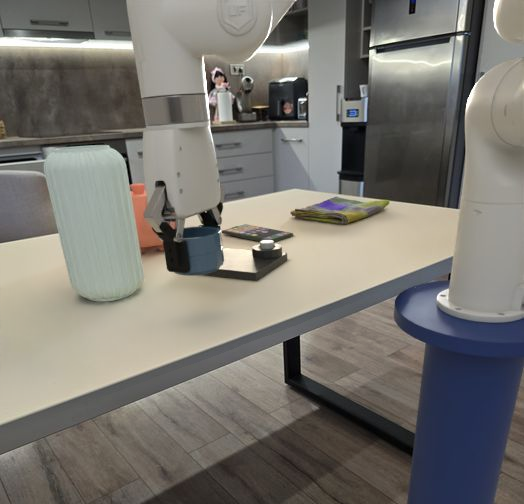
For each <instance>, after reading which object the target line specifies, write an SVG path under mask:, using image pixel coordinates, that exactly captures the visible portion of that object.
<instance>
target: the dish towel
mask: <svg viewBox="0 0 524 504" xmlns="http://www.w3.org/2000/svg"><path fill="white" fill-rule="evenodd" d="M389 204H390V200H389V199H379V200H372V201H360V200H356V199H347V198H344V197H339V196H334V197H331V198H328V199H326V200H324V201H322V202H319V203H313V204H312V205H309V206H306V207H301V208H295V209H293V210H291V211H290V215H291V216H292V217H294V218H295V219H301V220H310V221H318V222H323V223H331V224H337V225H347V224H350V223H352V222H356V221H359V220H361V219H365V218H368V217H370V216H373V215H375V214H376V213H379V212H381V211H382V210H384V209H385V208H386V207H388V206H389Z"/></svg>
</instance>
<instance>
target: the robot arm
mask: <svg viewBox="0 0 524 504" xmlns="http://www.w3.org/2000/svg"><path fill="white" fill-rule="evenodd" d="M295 2H297V0H126V2H125V3H126V4H125V5H126V12H127V18H128V19H127V20H128V24H129V31H130V37H131V42H132V43H131V44H132V48H133V55H134V61H135V69H136V74H137V80H138V86H139V87H138V88H139V93H140V98H141V105H142V111H143V117H144V124H145V130H143V131H142V164H143V165H142V167H143V178H144V184H145V190H146V195H147V202H148V205H147V207H146V209H145V211H144V214H143V216H144V218H145V220H146V221H147V222H148V223H149V225H150V226H151V227H152V230H153V231H154V232H155V233H156V234H157V235H158V238H159V240H160V241H163V247H164V251H163V252H164V259H165V265H166V270H167V271H168V272H170V273H175V272H178V273H188V272H189V271H190V264H189V257H188V250H187V243H186V241H185V240H182V237H183V231H184V228H185V223H186V219H188V218H191V217H194V216H197V218H198V220H199V221H200V225H198V226H211V227H217V228H219V229H220V230H221V231H222V228H221V225H222V223H223V218H222V213H223V210H224V205H223V204H224V200H225V197H226V189H225V187H223V186H222V185H221V182H220V181H221V180H220V173H219V166H218V159H217V153H216V149H215V148H216V147H215V142H214V139H213V138H214V137H213V135H212V131H211V117H210V108H209V97H208V89H207V79H206V71H205V61H204V60H205V59H204V57H205V56H214V57H215V58H216V59H217V60H218V61H221V62H222V63H225V64H228V65H240V64H243V63H245V62H248V61H249V60H251V59H252V58H254V56H256V54H257V52H258V51H259V50H260V48H261V47H262V46H263V45H264V43H265V42H266V41H267V39H268V38H269V36H271V33H273V31H274V30H275V29H276V27H277V26H278V24H279V23H280V21H281V20H282V19H283V18H284V16H285V15H286V14H287V12H288V11H289V10H290V9H291V7H292V6H293V5H294V4H295ZM493 4H494V5H493V23H494V28H495V30H496V33H497V34H498V35H499V37H500V38H502V40H504V41H505V42H508V43H510V44H514V45H524V0H494V3H493ZM464 140H465V141H464V142H465V155H464V156H465V159H464V172H463V180H462V181H463V182H462V190H461V197H460V203H459V211H458V218H457V219H458V220H457V224H456V225H457V226H456V232H455V233H456V234H455V241H454V248H453V256H452V262H451V263H452V264H451V272H450V278H449V280H450V286H449V289H446V290H444V291H442V292H440V293H439V294H438V295H437V301H436V304H437V306H438V308H439V309H440V310H442V311H443V312H445V313H446V314H449V315H451V316H454V317H457V318H460V319H464V320H469V321H475V322H484V323H505V322H512V321H516V320H520V319H522V318H524V56H522V57H516V58H513V59H512V58H511V59H509V60H505V61H503V62H501V63H499V64H497V65H495V66H493V67H492V68H490V69H489V70H488V71H486V72H485V73H484V74H483V75H482V76H481V77H480V78H479V79H478V80H477V82H476V83H475V85H474V86H473V88H472V89H471V91H470V94H469V97H468V98H467V102H466V107H465V114H464ZM174 213H175V214H174ZM170 222H175V227H174V229H173V228H172V227H171V226H170Z"/></svg>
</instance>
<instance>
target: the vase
mask: <svg viewBox="0 0 524 504" xmlns="http://www.w3.org/2000/svg"><path fill="white" fill-rule="evenodd" d="M43 172H44V173H43V174H44V178H45V182H46V186H47V190H48V194H49V198H50V199H49V200H50V203H51V207H52V212H53V216H54V220H55V224H56V228H57V232H58V237H59V241H60V245H61V249H62V254H63V259H64V262H65V267H66V271H67V275H68V280H69V283H70V286H71V288H72V289H73V291H75V293H76V294H77V295H79V296H81V297H83V298H85V299H87V300H89V301H91V302H100V303H102V302H112V301H119V300H122V299H125V298H127V297H130V296H131V295H133V294H134V293H135V292H136V290H138V289H139V288H140V287H141V285H142V283H143V281H144V278H145V273H144V265H143V260H142V254H141V253H140V247H139V241H138V235H137V229H136V223H135V216H134V210H133V204H132V198H131V192H130V191H131V187H130V182H129V181H130V180H129V174H128V168H127V163H126V160H125V158H124V157H123V155H122V154H121V153H120V152H119V151H118V150H116V149H115V148H112V147H111V146H110V144H109V145H108V144H95V145H78V146H66V147H58V148H57V147H56V148H54V149H53V151H52V152H50V153H49V154H48V155H47V156H46V158H45V160H44V162H43Z"/></svg>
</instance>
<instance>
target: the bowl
mask: <svg viewBox="0 0 524 504" xmlns="http://www.w3.org/2000/svg"><path fill="white" fill-rule="evenodd" d="M222 237H223V236H222V229H221V230H220V229H219V228H217V227H211V226H199V225H198V226H197V225H195V226H187V227H184V231H183V237H182V240H185V241H186V243H187V250H188V257H189V264H190V271H189V272H188V273H178V272H174V274H176V275H179V276H187V277H188V276H189V277H191V276H200V275H201V276H204V275H203V274H207V273H211V272H214V271H216V270H218V269H219V268H220V267H221V266H222V265H223V263H224V255H223V248H224V246H223V245H224V244H223V238H222Z"/></svg>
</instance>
